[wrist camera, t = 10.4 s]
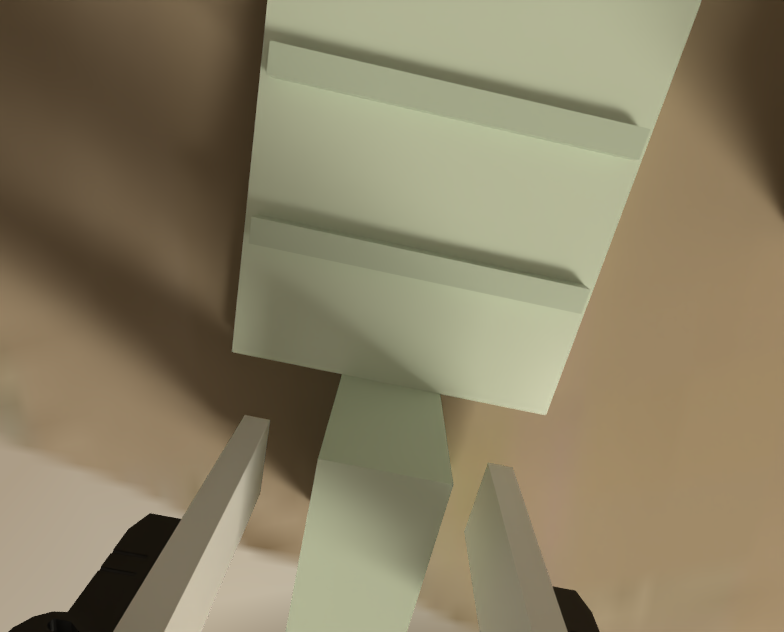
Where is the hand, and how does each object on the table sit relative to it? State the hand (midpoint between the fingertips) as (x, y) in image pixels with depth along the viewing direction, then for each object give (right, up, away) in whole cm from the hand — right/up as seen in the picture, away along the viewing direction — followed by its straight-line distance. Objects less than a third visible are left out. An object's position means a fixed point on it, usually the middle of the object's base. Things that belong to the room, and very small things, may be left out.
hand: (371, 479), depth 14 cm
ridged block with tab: (+2, +8, -1) cm, 8 cm away
